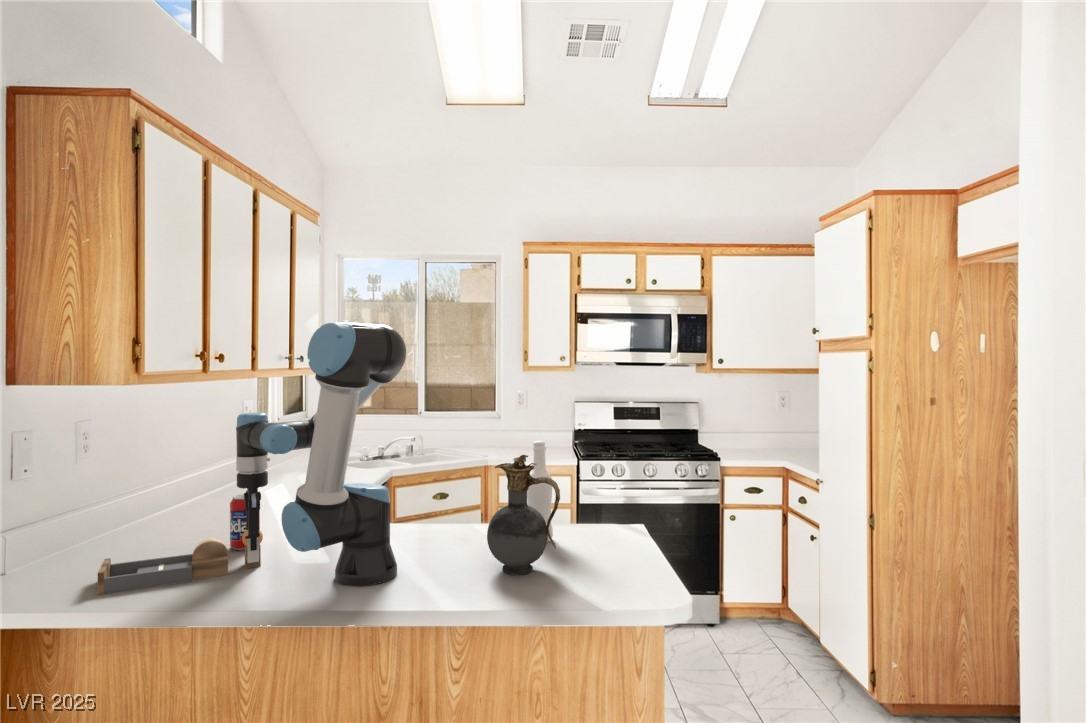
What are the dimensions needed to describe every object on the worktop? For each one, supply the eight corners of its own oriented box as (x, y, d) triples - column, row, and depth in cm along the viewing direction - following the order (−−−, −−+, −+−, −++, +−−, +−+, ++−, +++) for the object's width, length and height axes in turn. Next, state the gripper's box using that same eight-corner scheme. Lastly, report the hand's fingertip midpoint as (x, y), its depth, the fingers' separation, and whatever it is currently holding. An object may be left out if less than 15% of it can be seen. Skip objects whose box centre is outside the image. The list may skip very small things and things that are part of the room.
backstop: (103, 593, 148) (103, 572, 148) (97, 594, 148) (97, 573, 148) (110, 578, 158) (110, 558, 158) (104, 578, 158) (104, 558, 158)
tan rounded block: (227, 574, 161) (227, 543, 161) (191, 579, 157) (191, 547, 157) (226, 563, 170) (226, 533, 170) (192, 567, 166) (192, 537, 166)
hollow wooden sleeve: (260, 566, 167) (260, 546, 167) (245, 568, 166) (245, 548, 166) (259, 562, 171) (259, 542, 171) (244, 564, 169) (244, 544, 169)
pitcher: (495, 561, 172) (495, 450, 172) (564, 566, 168) (564, 453, 167) (482, 574, 161) (482, 457, 161) (555, 581, 157) (555, 460, 157)
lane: (191, 580, 157) (191, 566, 157) (103, 593, 148) (103, 578, 148) (192, 566, 167) (192, 553, 167) (110, 578, 158) (110, 564, 158)
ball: (263, 548, 167) (263, 529, 167) (242, 550, 165) (242, 531, 165) (262, 543, 172) (262, 524, 171) (241, 545, 169) (241, 527, 169)
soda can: (265, 544, 186) (265, 493, 186) (246, 552, 179) (246, 499, 179) (243, 542, 188) (243, 492, 188) (223, 550, 181) (223, 498, 181)
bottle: (556, 542, 189) (557, 442, 189) (531, 545, 186) (531, 443, 186) (546, 535, 197) (546, 438, 196) (522, 538, 194) (522, 440, 193)
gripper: (270, 475, 162) (270, 566, 162) (265, 464, 178) (265, 547, 178) (238, 478, 158) (238, 571, 159) (235, 467, 174) (235, 551, 174)
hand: (252, 558), depth 168 cm, fingers closed on ball, 5 cm apart
